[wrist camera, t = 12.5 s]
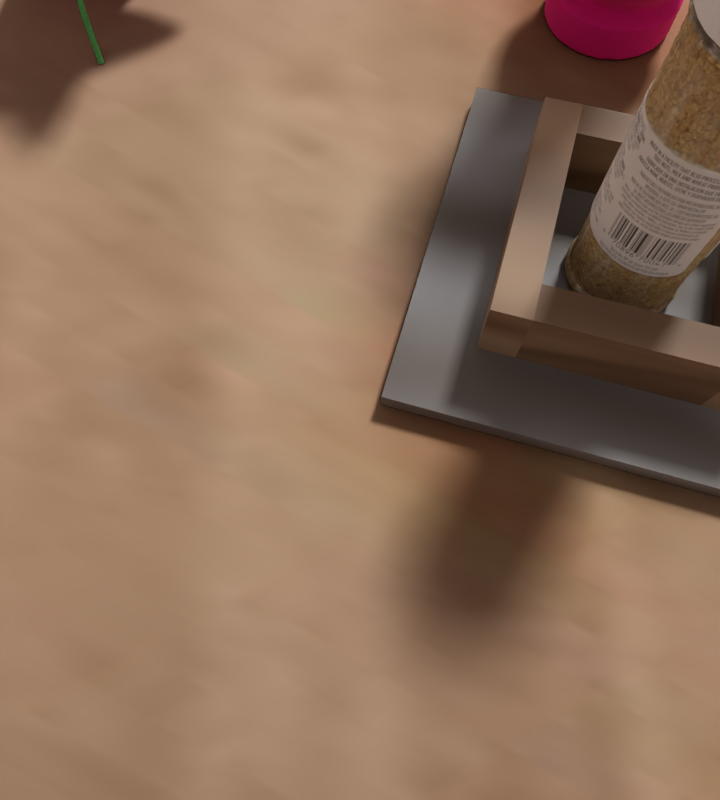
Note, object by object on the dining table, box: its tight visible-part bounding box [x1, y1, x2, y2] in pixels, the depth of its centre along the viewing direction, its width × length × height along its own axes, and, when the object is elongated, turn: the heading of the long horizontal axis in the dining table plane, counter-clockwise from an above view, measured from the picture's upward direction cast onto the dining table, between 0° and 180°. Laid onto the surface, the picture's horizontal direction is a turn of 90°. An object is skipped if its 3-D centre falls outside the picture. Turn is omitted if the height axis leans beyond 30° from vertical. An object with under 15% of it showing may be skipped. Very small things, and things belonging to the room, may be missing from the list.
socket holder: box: [381, 87, 720, 497], centre depth 25 cm, size 16×16×4 cm
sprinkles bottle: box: [564, 0, 720, 312], centre depth 20 cm, size 5×5×14 cm
